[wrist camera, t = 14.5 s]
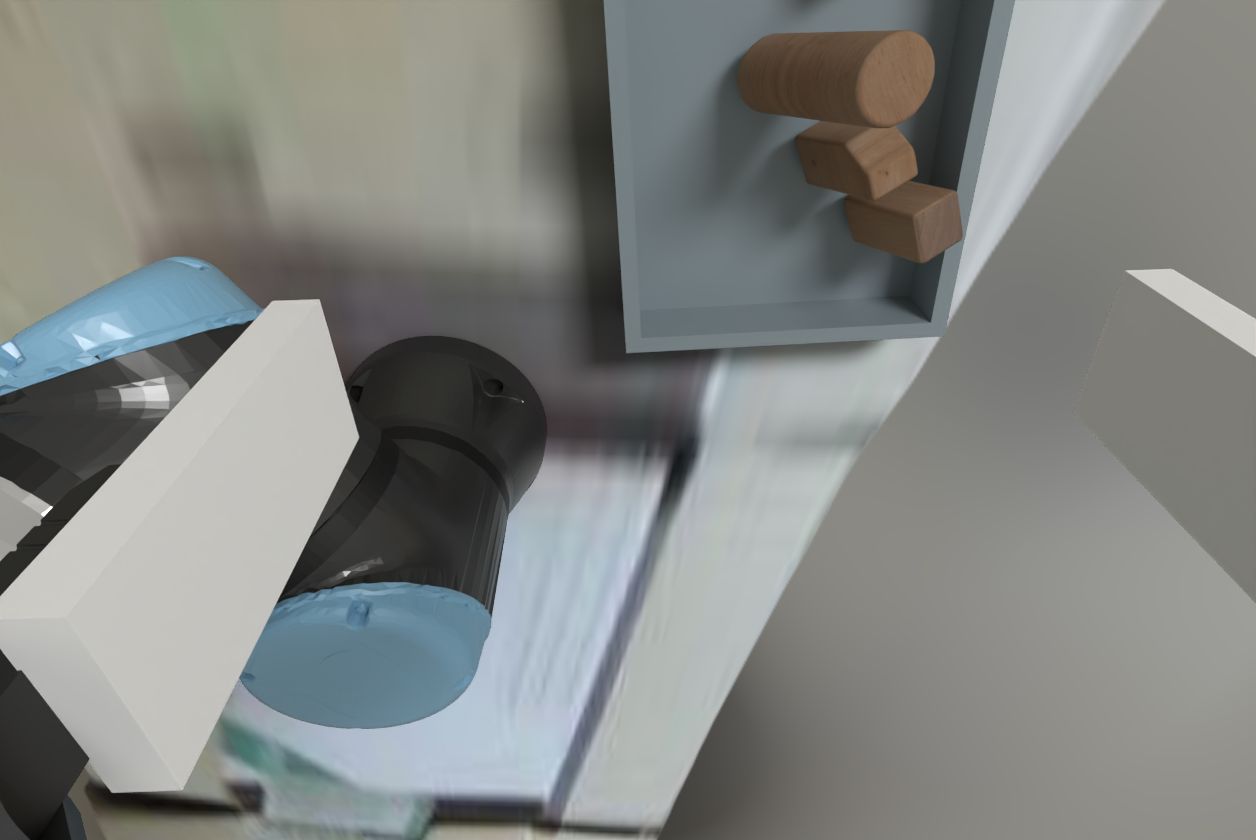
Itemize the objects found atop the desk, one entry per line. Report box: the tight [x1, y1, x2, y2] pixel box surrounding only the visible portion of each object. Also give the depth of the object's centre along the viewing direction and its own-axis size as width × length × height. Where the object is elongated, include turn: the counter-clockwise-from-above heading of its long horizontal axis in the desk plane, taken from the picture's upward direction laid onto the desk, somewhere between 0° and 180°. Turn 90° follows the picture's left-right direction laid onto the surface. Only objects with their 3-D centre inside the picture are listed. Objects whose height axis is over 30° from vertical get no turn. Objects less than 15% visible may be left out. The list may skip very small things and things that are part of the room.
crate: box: [604, 0, 1015, 353], centre depth 40 cm, size 20×28×5 cm
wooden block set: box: [737, 30, 963, 263], centre depth 37 cm, size 18×9×10 cm, turn 22°
